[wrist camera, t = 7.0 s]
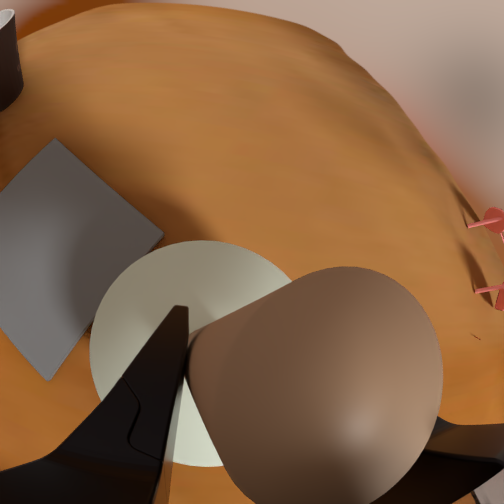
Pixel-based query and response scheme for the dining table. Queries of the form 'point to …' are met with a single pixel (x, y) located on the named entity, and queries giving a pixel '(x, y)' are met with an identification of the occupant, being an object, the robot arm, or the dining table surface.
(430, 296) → the dining table surface
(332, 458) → the lid
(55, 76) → the dining table surface
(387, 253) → the dining table surface
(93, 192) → the mat
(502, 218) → the figurine
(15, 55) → the coffee mug
